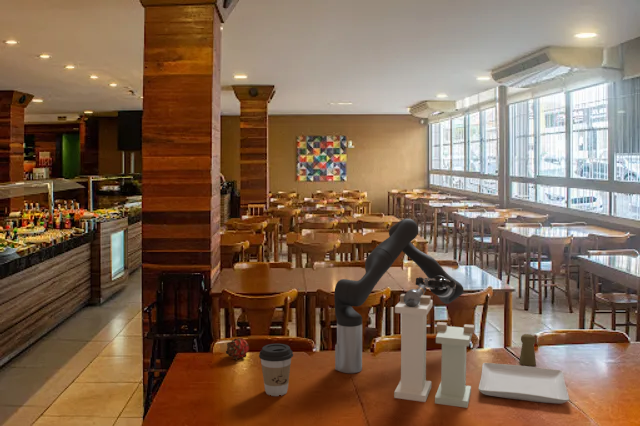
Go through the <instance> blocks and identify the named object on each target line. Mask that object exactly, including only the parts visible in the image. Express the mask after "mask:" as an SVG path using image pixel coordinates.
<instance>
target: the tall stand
mask: <svg viewBox="0 0 640 426" xmlns="http://www.w3.org/2000/svg"><path fill="white" fill-rule="evenodd" d="M405 294H406V293H400V296H399V302H398V303H397V304H396V305H395V306H394V313H395V314H400V316H401V319H400V320H401V322H400V323H401V326H400V328H401V329H400V331H401V334H400V335H401V338H400V339H401V341H400V342H401V343H400V380H399V382H398V385H397V386H396V388H395V390H394V392H393V393H394V394H393V396H394V397H393V398H394V399H399V400H401V399H402V400H407V401H414V402H415V401H416V402H421V403H426V401H427V399H428V396H429V395H430V391H431V389H432V381H431V380H427V379H426V378H427V321H428V319H427V318H428V317H427V316H428V314H429V313H430V311H431V309H432V307H433V305H434V304H433V302H434V301H433V299H431V298H432V296H431V295H425V294H424V295H421V300H420V302H419V303H418V305H417V306H415V307H409V306H407V305H406V304H405V303H404V295H405Z"/></svg>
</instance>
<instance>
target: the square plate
mask: <svg viewBox="0 0 640 426" xmlns="http://www.w3.org/2000/svg"><path fill="white" fill-rule="evenodd" d="M480 375H481V376H480V381H479V385H478V391H479V392H480V393H481V394H483V395H485V396H490V397H497V398H505V399H511V400H512V399H513V400H520V401H526V402H528V401H529V402H534V403H545V404H559V405H560V404H564V403H567V402H568V401H570V396H569V392H568V389H567V386H566V381H565V374H564V371H563V370H561V369H553V368H546V367H537V366H525V365H517V364H505V363H493V362H483V363H482V366H481V374H480Z"/></svg>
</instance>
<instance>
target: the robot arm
mask: <svg viewBox="0 0 640 426" xmlns="http://www.w3.org/2000/svg"><path fill="white" fill-rule="evenodd" d="M388 230H389V231H388V237H387V238H386V239H385V240H383V241H382V242H380V243H379V244H378V245H377V246H376V247H375V248H374V249H372V251H370V253H368V256H367V257H366V259H365V262H364V263H365V274H364V275H363V276H362V277H361V278H360V279H359V280H353V279H347V278H342V279H339V280H338V281H337V282H336V284H335V287H334V293H333V295H334V314H335V318H336V343H335V346H334V361H335V363H334V365H335V366H334V367H335V368H334V369H335V371H339V372H340V373H344V374H356V373H359V372H361V371H362V370H363V316H362V315H361V314H360V313H359V312H358V311H356V310H355V309H354V308H353V307H360V306H362V305H364V303H365V302H366V301H367V299H368V298H369V296H370V295H371V293H372V291H373V290H374V288H375V287H376V285H377V284H378V282H379V281H380V280H381V278H382V277H383V276H384V275H385V274H386V273H387V272H388V270H389V269H390V268H392V265H393V264H394V263H395V261H396V260H397V259H398V257H399V256H400V255H401V253H402V252H403V253H404V254H405V255H406V256H407V257H408V258H410V259H411V260H412V262H414V263H415V264H416V265H417V266H418V267H419V269H420V270H421V271H422V272H423V273H424V275H425V276H426V277H421V276H419V277H416V278H415V284H414V285H415V286H417V287H418V286H420V285H424V286H425V287H426V289H427V288H428V289H429V291H430V292H431V293H432V294H433V295H435V296H437V297H438V299H439V300H440V301H441V302H442V303H443V304H447V305H448V304H451V303H452V302H454V301H455V300H457V299H458V298H459V297H461V296H462V295H463V294H464V286H463V285H462V284H461V283H460V282H459V281H458V280H456V279H455V278H453V277H452V276H450V275H449V274H448V273H447V272H446V271H445V270H444V269H443V267H442V266H441V265H440V264H439V262H438V261H437V260H436V259H435V258H434V257H432V256H431V255H429V254H427V253H425V252H423V251H421V250H420V249H418V248H417V247H416V246H415V245H414V244H413V243H412V241H413V240H415V239H416V238H417V237H418V233H419V227H418V224H417V222H416V221H414V219H411V218H404V219H401V220H399V221H398V222H397V223H395V224H394V225H392V226H391V227H390V228H389V229H388Z"/></svg>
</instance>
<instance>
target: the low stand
mask: <svg viewBox="0 0 640 426" xmlns="http://www.w3.org/2000/svg"><path fill="white" fill-rule="evenodd" d="M436 331H437V334H436V336H435V344H441V372H440V374H441V375H440V376H441V378H440V382H439V386H438V388H437V392H436V393H435V396H434V404H438V405H444V406H452V407H460V408H466V409H467V408H469V407H468V406H469V403H470V399H471V394H472V385H466V384H467V381H466V380H467V378H466V377H467V347H470V344H471V340H472V336H473V334H474V333H475V325H474V324H463V327H460V326H450V325H448V322H444V321H441V322H440V321H437V322H436Z"/></svg>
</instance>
